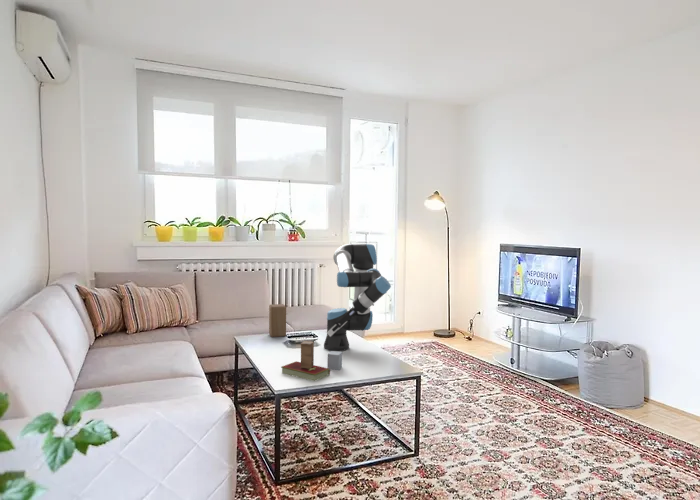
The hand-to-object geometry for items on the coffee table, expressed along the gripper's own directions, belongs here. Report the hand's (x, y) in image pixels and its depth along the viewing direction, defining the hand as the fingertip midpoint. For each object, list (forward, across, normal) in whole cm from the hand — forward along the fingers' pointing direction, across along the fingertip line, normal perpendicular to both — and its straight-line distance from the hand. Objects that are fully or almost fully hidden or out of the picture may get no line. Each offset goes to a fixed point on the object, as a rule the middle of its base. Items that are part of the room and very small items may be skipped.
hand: (332, 331), depth 233 cm
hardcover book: (+25, -2, -7) cm, 26 cm away
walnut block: (+22, -1, -4) cm, 22 cm away
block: (+58, +70, +24) cm, 93 cm away
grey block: (+17, +11, -14) cm, 25 cm away
